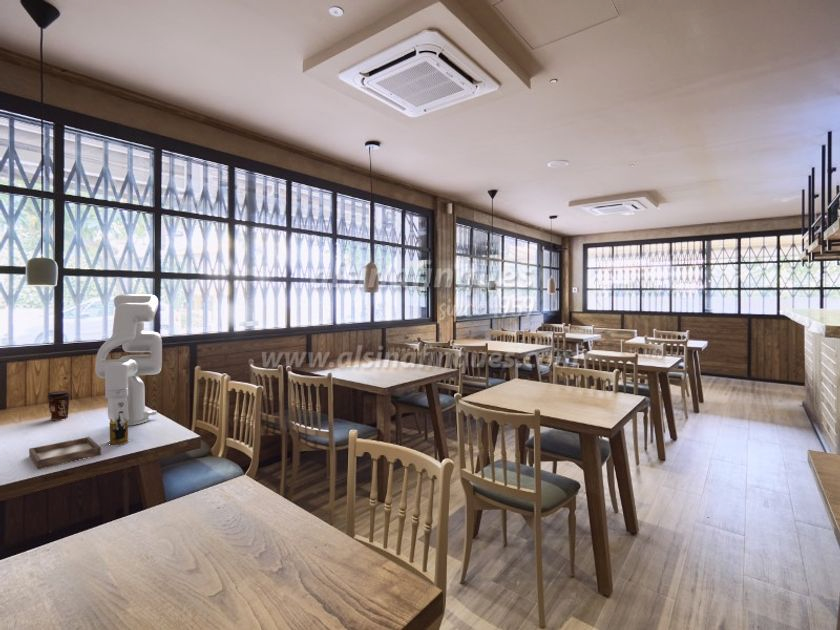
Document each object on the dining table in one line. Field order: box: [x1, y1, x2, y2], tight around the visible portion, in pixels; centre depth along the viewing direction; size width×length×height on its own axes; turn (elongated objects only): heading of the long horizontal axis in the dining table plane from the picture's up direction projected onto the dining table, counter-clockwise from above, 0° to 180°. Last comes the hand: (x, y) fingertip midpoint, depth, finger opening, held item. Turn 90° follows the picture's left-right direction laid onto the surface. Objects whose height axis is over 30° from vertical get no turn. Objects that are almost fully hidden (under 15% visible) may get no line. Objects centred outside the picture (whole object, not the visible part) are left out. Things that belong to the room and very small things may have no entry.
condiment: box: [101, 418, 133, 447], centre depth 175 cm, size 7×8×12 cm
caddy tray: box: [28, 436, 102, 470], centre depth 160 cm, size 18×17×3 cm
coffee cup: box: [47, 390, 71, 421], centre depth 204 cm, size 9×8×13 cm
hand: (117, 436), depth 174 cm, fingers closed on condiment, 6 cm apart
